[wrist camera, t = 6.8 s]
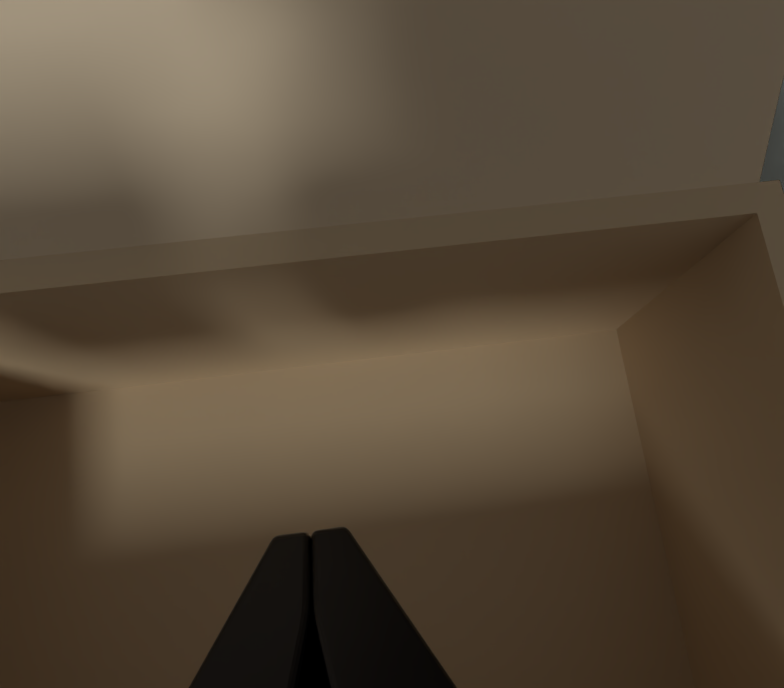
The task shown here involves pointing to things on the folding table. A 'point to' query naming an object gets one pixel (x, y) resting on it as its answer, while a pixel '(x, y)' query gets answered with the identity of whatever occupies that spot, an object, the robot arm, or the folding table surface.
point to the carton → (409, 439)
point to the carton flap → (364, 110)
